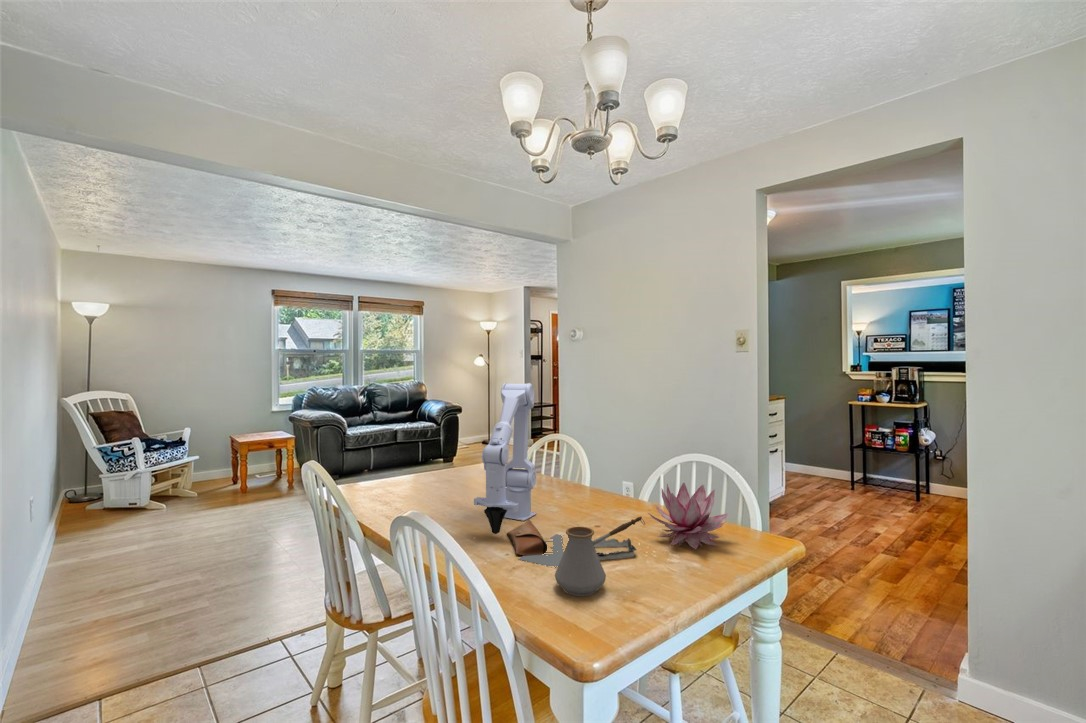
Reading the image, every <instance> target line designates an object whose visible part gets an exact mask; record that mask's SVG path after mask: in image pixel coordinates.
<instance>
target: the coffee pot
mask: <svg viewBox="0 0 1086 723" xmlns="http://www.w3.org/2000/svg"><path fill="white" fill-rule="evenodd" d="M637 522H641V524H642V525H643V526H645V525H646V523H645V521H644V519H643V517H642V516H638V517H636V518H635V519H631V520H630V521H628V522H625V523H623V524H621V525H619V526H618V527H616V528H614V529H612V530H611V531H609V532H608V533H606V534H603V535H602V536H599V537H598V538H596V539H594V540H593V539H592V538H593V536H594V534H595V531H594V530H593V529H592V528H590V527H585V526H572V527H569V528H567V529H566V530H565V534H566V536H568V538H569V541H568V543H567V546H566V548H565V551H564V553H563V555H562V558H561V560H560V563H559V565H558V567H557V568H556V570H555V574H554V577H555V581H556V583H557V585H559V587H560V588H561V589H563V591H564V590H565V591H566V592H565V591H564V592H565V593H567V592H568V593H567V594H569V593H570V594H569V595H571V594H572V595H571V596H576V595H577V596H576V597H587V596H591V595H594V594H595V593H597V591H598V590H600V589H601V588H602V587H603V585H604V584H605V581H606V578H607V576H606V575H607V574H606V572H605V570H604V567H603V565H602V562H601V560H599V558H598V555H597V553H598V552H597V551H596V548H594V545H595V544H597V543H599V542H601V541H602V540H604V539H605V540H607V539H608V538H609V537H612V536H614V535H616V534H619V533H621V532H623V531H625V530H627V529H628V528H630V527H631V526H632V525H636V523H637ZM591 540H592V541H591Z"/></svg>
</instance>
